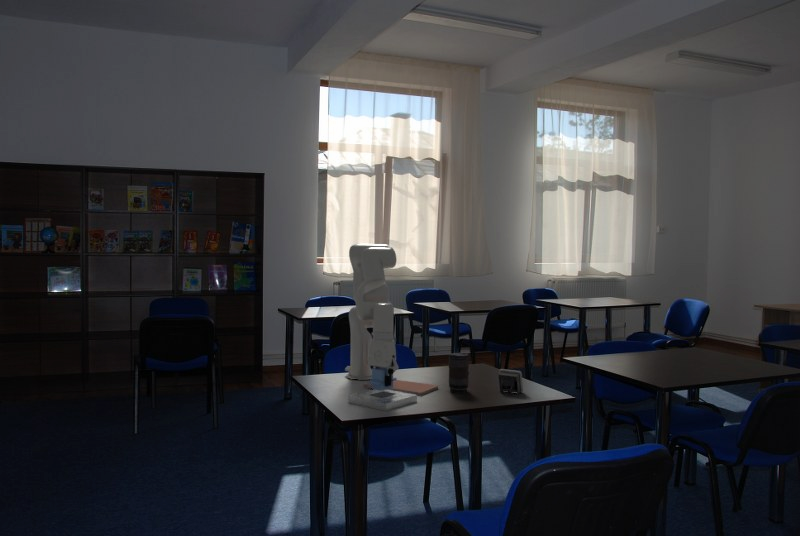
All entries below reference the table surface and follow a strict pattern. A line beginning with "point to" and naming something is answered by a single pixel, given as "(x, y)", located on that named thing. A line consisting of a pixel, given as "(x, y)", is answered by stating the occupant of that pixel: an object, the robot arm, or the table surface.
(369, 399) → the plate
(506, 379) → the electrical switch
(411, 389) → the notebook
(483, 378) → the table surface
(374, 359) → the robot arm
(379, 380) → the servo
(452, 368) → the camera lens
